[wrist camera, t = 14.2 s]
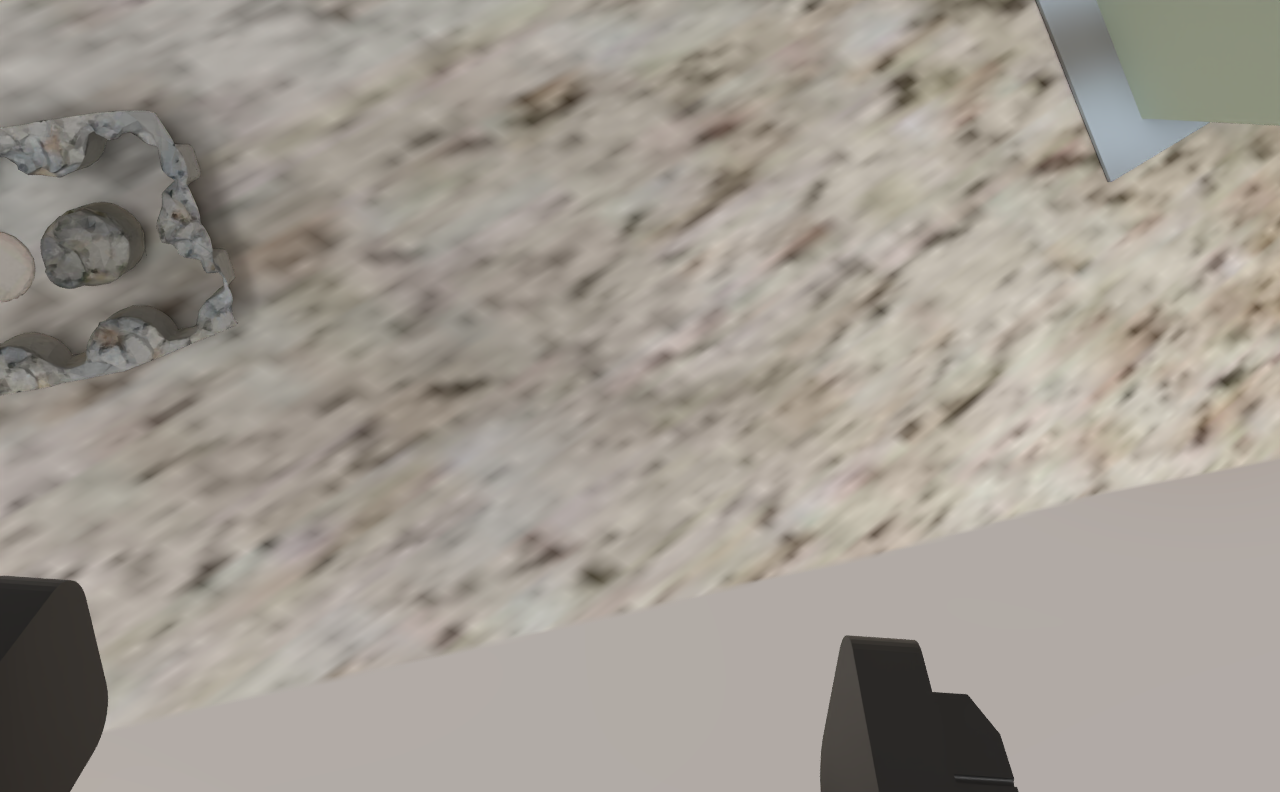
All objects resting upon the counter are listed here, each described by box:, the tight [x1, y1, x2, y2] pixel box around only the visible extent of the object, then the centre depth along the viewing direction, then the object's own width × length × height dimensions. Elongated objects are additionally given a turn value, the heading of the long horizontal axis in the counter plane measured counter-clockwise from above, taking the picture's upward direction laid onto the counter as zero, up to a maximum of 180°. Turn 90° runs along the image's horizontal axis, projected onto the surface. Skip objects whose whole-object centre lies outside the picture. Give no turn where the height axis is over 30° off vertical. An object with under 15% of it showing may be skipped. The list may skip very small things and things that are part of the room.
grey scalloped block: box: [0, 111, 238, 396], centre depth 33 cm, size 11×8×4 cm
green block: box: [1096, 0, 1280, 126], centre depth 35 cm, size 5×5×10 cm
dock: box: [1036, 0, 1210, 182], centre depth 38 cm, size 14×10×4 cm
